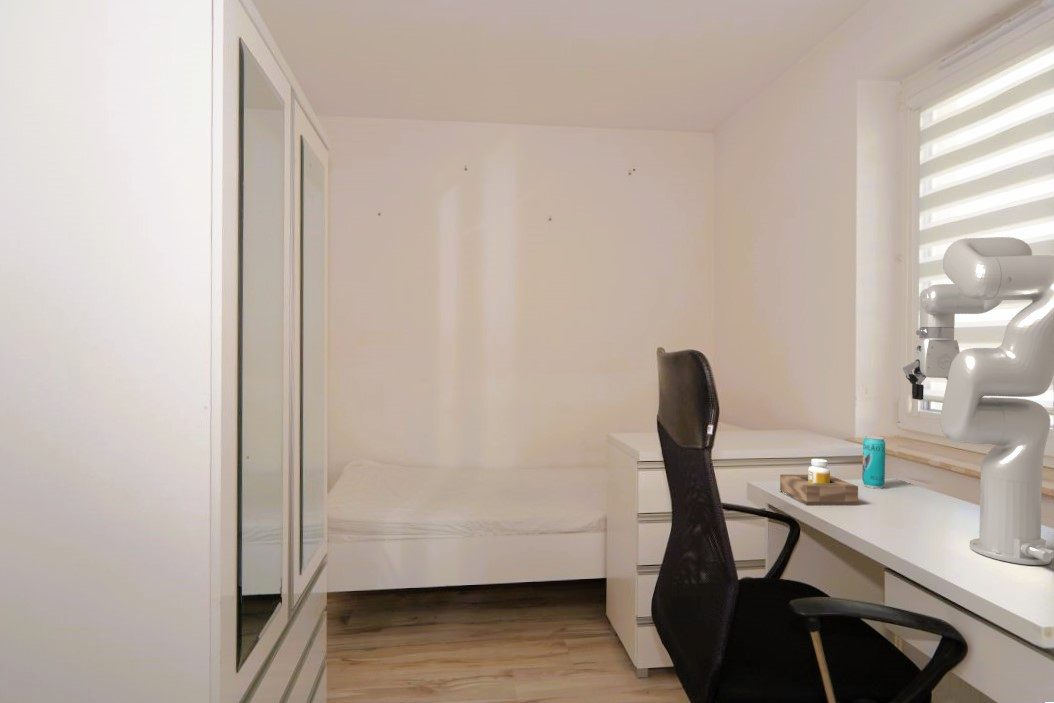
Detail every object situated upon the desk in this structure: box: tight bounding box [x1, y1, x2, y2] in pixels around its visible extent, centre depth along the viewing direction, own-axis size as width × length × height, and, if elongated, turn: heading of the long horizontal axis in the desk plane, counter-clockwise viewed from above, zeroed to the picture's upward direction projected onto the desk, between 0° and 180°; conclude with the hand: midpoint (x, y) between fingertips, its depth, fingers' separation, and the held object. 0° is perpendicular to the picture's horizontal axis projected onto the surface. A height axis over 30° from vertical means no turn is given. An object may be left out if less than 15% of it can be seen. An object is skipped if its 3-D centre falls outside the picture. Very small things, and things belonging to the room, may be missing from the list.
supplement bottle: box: [807, 458, 831, 483], centre depth 158 cm, size 5×5×10 cm
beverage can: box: [861, 435, 886, 489], centre depth 172 cm, size 6×6×15 cm
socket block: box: [779, 474, 859, 506], centre depth 158 cm, size 14×14×5 cm
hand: (935, 399), depth 151 cm, fingers open, 9 cm apart
